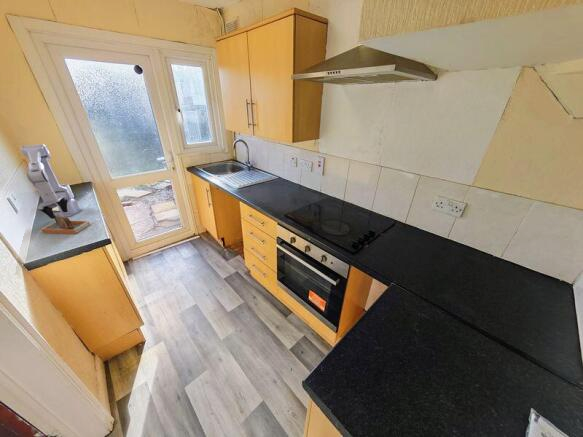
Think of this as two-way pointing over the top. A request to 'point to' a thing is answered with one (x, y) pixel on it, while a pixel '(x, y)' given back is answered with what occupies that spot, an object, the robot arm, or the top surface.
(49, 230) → the wooden frame
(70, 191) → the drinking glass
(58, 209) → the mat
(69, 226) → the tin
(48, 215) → the robot arm
